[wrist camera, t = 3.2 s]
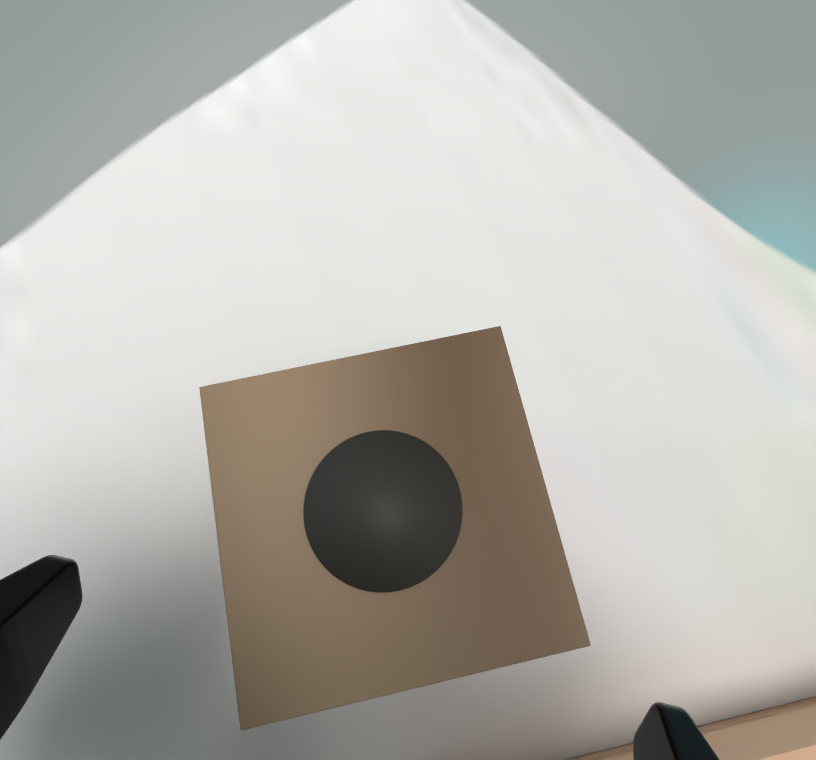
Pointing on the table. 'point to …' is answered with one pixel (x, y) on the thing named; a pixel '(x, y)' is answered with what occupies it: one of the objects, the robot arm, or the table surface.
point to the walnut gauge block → (382, 526)
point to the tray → (752, 736)
